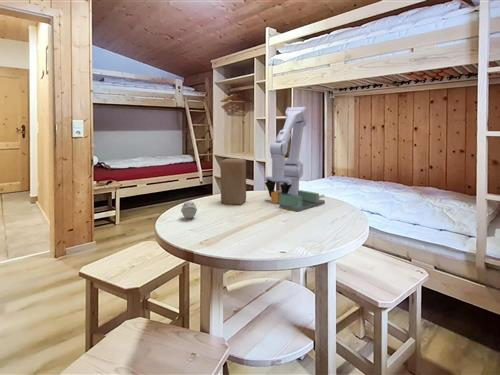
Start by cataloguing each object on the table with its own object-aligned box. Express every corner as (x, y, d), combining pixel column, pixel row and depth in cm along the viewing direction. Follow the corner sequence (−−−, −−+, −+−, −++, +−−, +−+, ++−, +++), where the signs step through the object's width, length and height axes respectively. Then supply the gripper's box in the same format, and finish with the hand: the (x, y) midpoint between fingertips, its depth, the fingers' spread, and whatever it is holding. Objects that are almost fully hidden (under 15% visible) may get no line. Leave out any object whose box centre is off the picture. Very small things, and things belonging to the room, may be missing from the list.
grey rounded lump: (182, 221, 126) (181, 203, 125) (180, 216, 132) (179, 199, 131) (198, 220, 127) (197, 202, 126) (196, 215, 134) (195, 198, 133)
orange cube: (271, 202, 156) (271, 192, 155) (278, 200, 160) (278, 190, 159) (277, 203, 153) (277, 193, 152) (284, 202, 157) (284, 191, 156)
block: (241, 205, 150) (241, 161, 146) (220, 204, 152) (219, 160, 148) (246, 200, 160) (246, 158, 156) (226, 199, 162) (225, 158, 158)
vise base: (279, 207, 147) (279, 194, 146) (306, 200, 160) (307, 187, 159) (297, 211, 140) (297, 197, 139) (324, 203, 153) (325, 190, 152)
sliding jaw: (297, 199, 155) (298, 190, 155) (306, 196, 160) (307, 188, 159) (315, 202, 148) (316, 193, 148) (324, 200, 153) (325, 191, 152)
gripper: (260, 168, 156) (260, 196, 158) (284, 171, 146) (284, 201, 148) (271, 166, 161) (270, 194, 163) (295, 169, 150) (294, 199, 153)
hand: (277, 197), depth 156 cm, fingers open, 7 cm apart
